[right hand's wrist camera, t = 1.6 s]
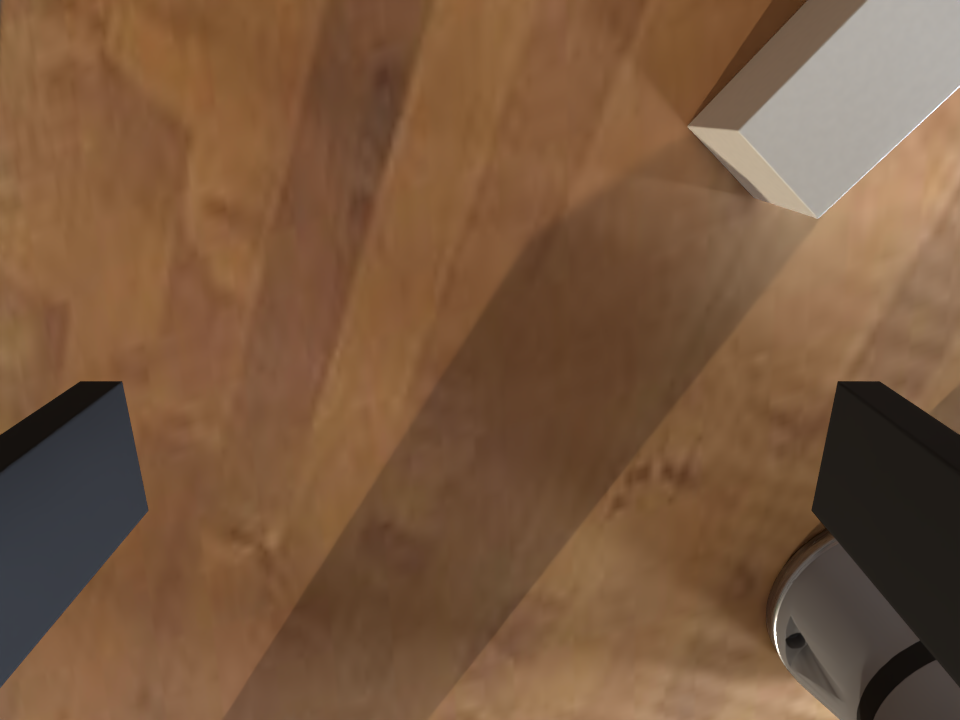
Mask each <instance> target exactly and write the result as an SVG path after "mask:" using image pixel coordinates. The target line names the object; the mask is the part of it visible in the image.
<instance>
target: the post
mask: <svg viewBox="0 0 960 720" xmlns="http://www.w3.org/2000/svg"><path fill="white" fill-rule="evenodd" d="M959 87H960V0H807V1H806V2H805V4H804V5H803V6H802V7H801V8H800V9H799V10H798V11H797V12H796V13H795V14H794V15H793V16H792V17H791V18H790V19H789V20H788V21H787V22H786V23H785V24H784V25H783V27H782V28H781V29H780V30H779V31H778V32H777V33H776V34H775V35H774V36H773V37H772V38H771V39H770V40H769V41H768V42H767V43H766V44H765V45H764V46H763V47H762V48H761V49H760V51H759V52H758V53H757V54H756V55H755V56H754V57H753V58H752V59H751V60H750V61H749V62H748V63H747V64H746V65H745V66H744V67H743V68H742V69H741V70H740V71H739V72H738V73H737V75H736V76H735V77H734V78H733V79H732V80H731V81H730V82H729V83H728V84H727V85H726V86H725V87H724V88H723V89H722V90H721V91H720V92H719V93H718V94H717V95H716V96H715V98H714V99H713V100H712V101H711V102H710V103H709V104H708V105H707V106H706V107H705V108H704V109H703V110H702V111H701V112H700V113H699V114H698V115H697V116H696V117H695V118H694V119H693V120H692V122H691V123H690V124H689V125H688V128H689V129H690V130H691V131H692V132H693V133H694V134H695V135H696V136H697V137H698V139H699V140H700V141H701V142H702V143H703V144H704V145H705V146H706V147H707V148H708V149H709V150H710V151H711V152H712V154H713V155H714V156H715V157H716V158H717V159H718V160H719V161H720V162H721V163H722V164H723V165H724V166H725V167H726V168H727V170H728V171H729V172H730V173H731V174H732V175H733V176H734V177H735V178H736V179H737V180H738V181H739V182H740V183H741V185H742V186H743V187H744V188H745V189H746V190H747V191H748V192H749V193H750V194H751V195H752V196H753V197H754V198H756V199H759V200H762V201H765V202H768V203H771V204H774V205H778V206H781V207H784V208H787V209H790V210H793V211H796V212H799V213H802V214H805V215H808V216H811V217H814V218H817V219H818V218H819V217H820V216H821V215H823V214H824V213H825V212H826V211H827V210H828V209H829V208H830V207H831V206H832V205H833V204H834V203H835V202H836V201H838V200H839V199H840V198H841V197H842V196H843V195H844V194H845V193H846V192H847V191H848V190H849V189H850V188H851V187H853V186H854V185H855V184H856V183H857V182H858V181H859V180H860V179H861V178H862V177H863V176H864V175H865V174H867V173H868V172H869V171H870V170H871V169H872V168H873V167H874V166H875V165H876V164H877V163H878V162H879V161H880V160H882V159H883V158H884V157H885V156H886V155H887V154H888V153H889V152H890V151H891V150H892V149H893V148H894V147H896V146H897V145H898V144H899V143H900V142H901V141H902V140H903V139H904V138H905V137H906V136H907V135H908V134H909V133H911V132H912V131H913V130H914V129H915V128H916V127H917V126H918V125H919V124H920V123H921V122H922V121H923V120H925V119H926V118H927V117H928V116H929V115H930V114H931V113H932V112H933V111H934V110H935V109H936V108H937V107H938V106H940V105H941V104H942V103H943V102H944V101H945V100H946V99H947V98H948V97H949V96H950V95H951V94H952V93H954V92H955V91H956V90H957V89H958V88H959Z"/></svg>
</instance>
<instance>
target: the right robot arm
mask: <svg viewBox="0 0 960 720" xmlns="http://www.w3.org/2000/svg"><path fill="white" fill-rule="evenodd" d="M147 512H148V506H147V501H146V496H145V491H144V486H143V481H142V476H141V472H140V467H139V462H138V457H137V452H136V447H135V442H134V437H133V432H132V427H131V423H130V418H129V413H128V408H127V403H126V398H125V393H124V388H123V383H122V381H80V382H79V383H77V384H76V385H74V386H73V387H71V388H70V389H68V390H67V391H65V392H64V393H62V394H61V395H59V396H58V397H56V398H55V399H53V400H52V401H50V402H49V403H47V404H46V405H44V406H43V407H41V408H40V409H39V410H37V411H36V412H34V413H33V414H31V415H30V416H28V417H27V418H25V419H24V420H22V421H21V422H19V423H18V424H16V425H15V426H13V427H12V428H10V429H9V430H7V431H6V432H4V433H3V434H1V435H0V688H1V686H2V685H3V684H4V683H5V682H6V680H7V679H8V678H9V677H10V676H11V674H12V673H13V672H14V671H15V670H16V668H17V667H18V666H19V665H20V664H21V662H22V661H23V660H24V659H25V658H26V656H27V655H28V654H29V653H30V652H31V650H32V649H33V648H34V647H35V646H36V644H37V643H38V642H39V641H40V640H41V638H42V637H43V636H44V635H45V634H46V632H47V631H48V630H49V629H50V628H51V626H52V625H53V624H54V623H55V622H56V620H57V619H58V618H59V617H60V616H61V614H62V613H63V612H64V611H65V610H66V608H67V607H68V606H69V605H70V604H71V602H72V601H73V600H74V599H75V598H76V597H77V595H78V594H79V593H80V592H81V591H82V589H83V588H84V587H85V586H86V585H87V583H88V582H89V581H90V580H91V579H92V577H93V576H94V575H95V574H96V573H97V571H98V570H99V569H100V568H101V567H102V565H103V564H104V563H105V562H106V561H107V559H108V558H109V557H110V556H111V555H112V553H113V552H114V551H115V550H116V549H117V547H118V546H119V545H120V544H121V543H122V541H123V540H124V539H125V538H126V537H127V535H128V534H129V533H130V532H131V531H132V529H133V528H134V527H135V526H136V525H137V523H138V522H139V521H140V520H141V519H142V517H143V516H144V515H145V514H146V513H147ZM812 512H813V513H814V514H815V515H816V516H817V517H818V519H819V520H820V521H821V522H822V523H823V525H824V526H825V527H826V528H827V530H825V531H823V532H822V533H820V534H819V535H817V536H816V537H814V538H813V539H811V540H810V541H809V542H807V543H806V544H805V545H804V546H803V547H801V548H800V549H799V550H798V551H797V552H796V553H795V554H794V555H793V556H792V557H791V558H790V560H789V561H788V562H787V563H786V564H785V566H784V567H783V569H782V570H781V572H780V573H779V575H778V576H777V578H776V580H775V582H774V584H773V586H772V589H771V591H770V595H769V598H768V603H767V608H766V623H767V629H768V633H769V636H770V639H771V641H772V643H773V646H774V647H775V649H776V651H777V653H778V655H779V657H780V658H781V660H782V662H783V664H784V665H785V667H786V668H787V670H788V671H789V672H790V673H791V674H792V675H793V676H794V678H795V679H796V680H797V681H798V682H799V683H800V684H801V685H802V686H803V687H804V688H805V689H806V690H807V691H809V692H810V693H811V694H812V695H813V696H814V697H815V698H816V699H818V700H819V701H820V702H821V703H822V704H823V705H824V706H825V707H826V708H828V709H829V710H830V711H831V712H832V713H833V714H834V715H835V716H836V717H838V718H839V719H840V720H960V435H959V434H957V433H956V432H954V431H953V430H951V429H950V428H948V427H947V426H945V425H944V424H942V423H941V422H939V421H938V420H936V419H935V418H933V417H932V416H930V415H929V414H927V413H926V412H924V411H923V410H921V409H920V408H919V407H917V406H916V405H914V404H913V403H911V402H910V401H908V400H907V399H905V398H904V397H902V396H901V395H899V394H898V393H896V392H895V391H893V390H892V389H890V388H889V387H887V386H886V385H884V384H883V383H881V382H880V381H838V383H837V388H836V393H835V398H834V403H833V408H832V413H831V418H830V423H829V427H828V432H827V437H826V442H825V447H824V452H823V457H822V462H821V467H820V472H819V476H818V481H817V486H816V491H815V496H814V501H813V506H812Z"/></svg>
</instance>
